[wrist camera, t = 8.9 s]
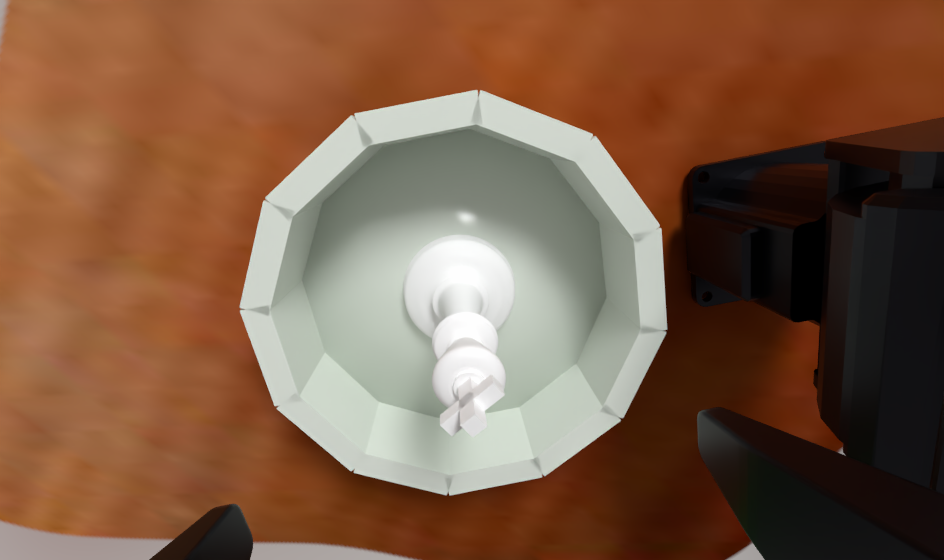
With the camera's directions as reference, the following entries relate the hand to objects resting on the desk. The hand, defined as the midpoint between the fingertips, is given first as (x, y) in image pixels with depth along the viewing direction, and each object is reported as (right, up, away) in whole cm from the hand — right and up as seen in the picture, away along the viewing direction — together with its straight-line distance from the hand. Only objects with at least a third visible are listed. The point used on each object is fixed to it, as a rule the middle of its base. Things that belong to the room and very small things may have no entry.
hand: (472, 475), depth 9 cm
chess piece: (-1, +3, +11) cm, 12 cm away
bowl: (-1, +4, +12) cm, 12 cm away
